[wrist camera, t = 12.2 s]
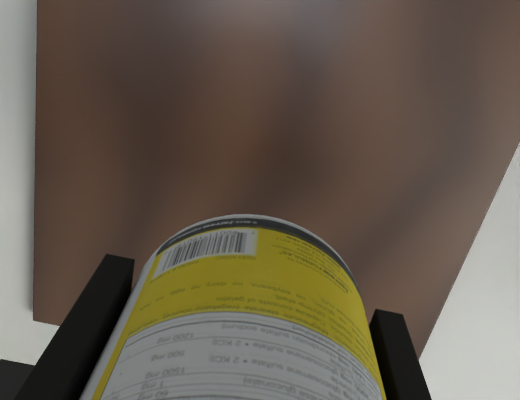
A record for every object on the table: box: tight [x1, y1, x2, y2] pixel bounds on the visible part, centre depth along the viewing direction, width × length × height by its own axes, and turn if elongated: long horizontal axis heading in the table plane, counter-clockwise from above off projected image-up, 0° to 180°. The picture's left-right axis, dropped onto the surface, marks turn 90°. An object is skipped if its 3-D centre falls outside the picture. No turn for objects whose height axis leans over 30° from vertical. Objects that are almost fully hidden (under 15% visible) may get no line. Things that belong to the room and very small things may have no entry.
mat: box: [33, 0, 520, 360], centre depth 22 cm, size 20×20×1 cm
